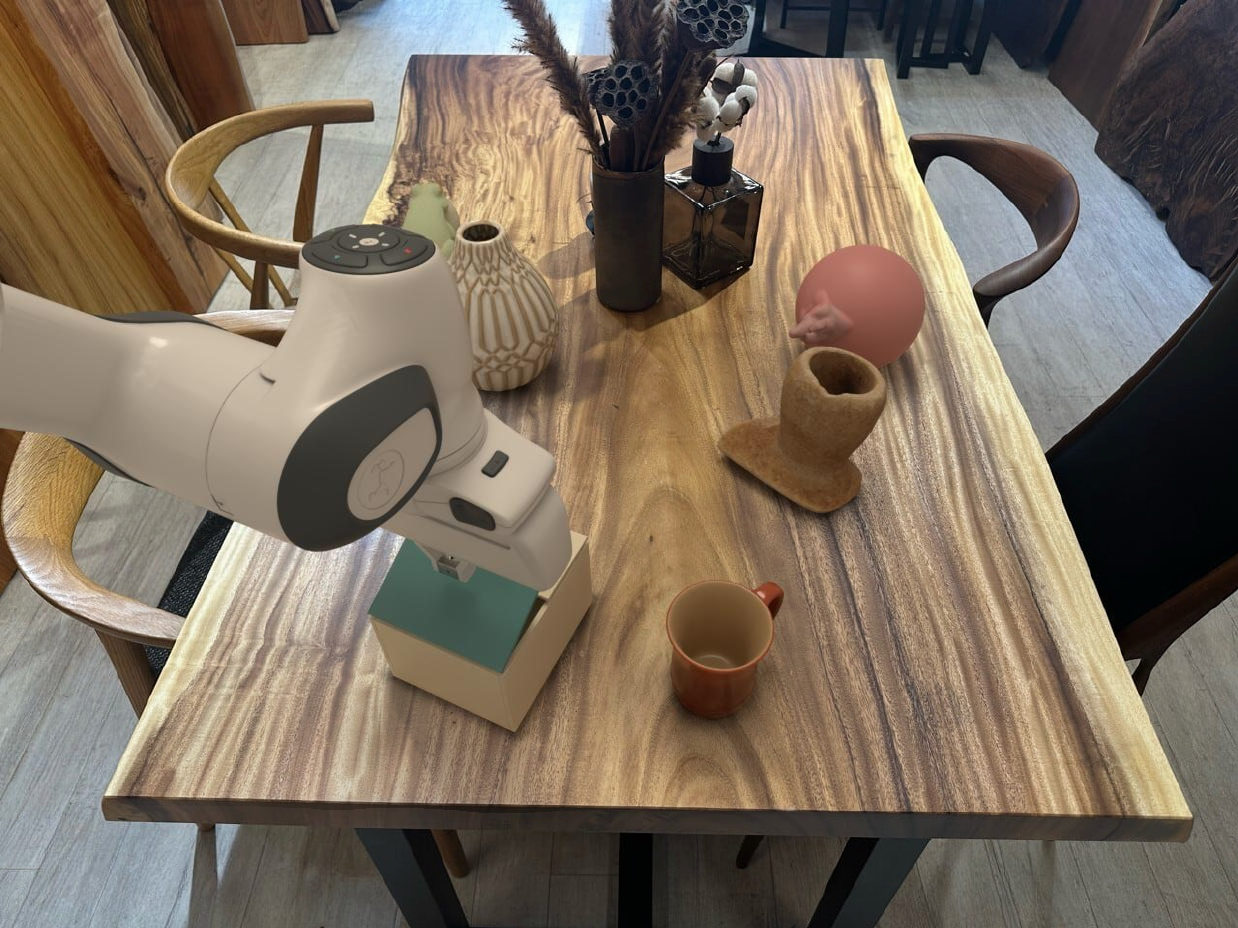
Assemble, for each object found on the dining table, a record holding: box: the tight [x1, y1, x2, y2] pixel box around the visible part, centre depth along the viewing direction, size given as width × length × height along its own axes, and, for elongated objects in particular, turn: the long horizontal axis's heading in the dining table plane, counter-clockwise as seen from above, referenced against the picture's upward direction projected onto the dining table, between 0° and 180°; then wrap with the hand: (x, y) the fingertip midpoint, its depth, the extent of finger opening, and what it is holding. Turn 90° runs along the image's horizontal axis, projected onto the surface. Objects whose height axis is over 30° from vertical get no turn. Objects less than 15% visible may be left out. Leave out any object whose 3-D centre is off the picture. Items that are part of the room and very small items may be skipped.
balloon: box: [788, 244, 926, 369], centre depth 99 cm, size 15×20×15 cm
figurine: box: [401, 182, 461, 260], centre depth 119 cm, size 10×16×10 cm, turn 179°
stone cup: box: [716, 347, 888, 514], centre depth 86 cm, size 15×12×15 cm
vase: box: [447, 218, 560, 392], centre depth 97 cm, size 16×16×20 cm
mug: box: [665, 579, 785, 720], centre depth 70 cm, size 12×9×10 cm
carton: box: [368, 529, 593, 733], centre depth 73 cm, size 15×13×10 cm
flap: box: [366, 537, 539, 673], centre depth 66 cm, size 7×13×1 cm, turn 65°
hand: (456, 570), depth 64 cm, fingers closed
